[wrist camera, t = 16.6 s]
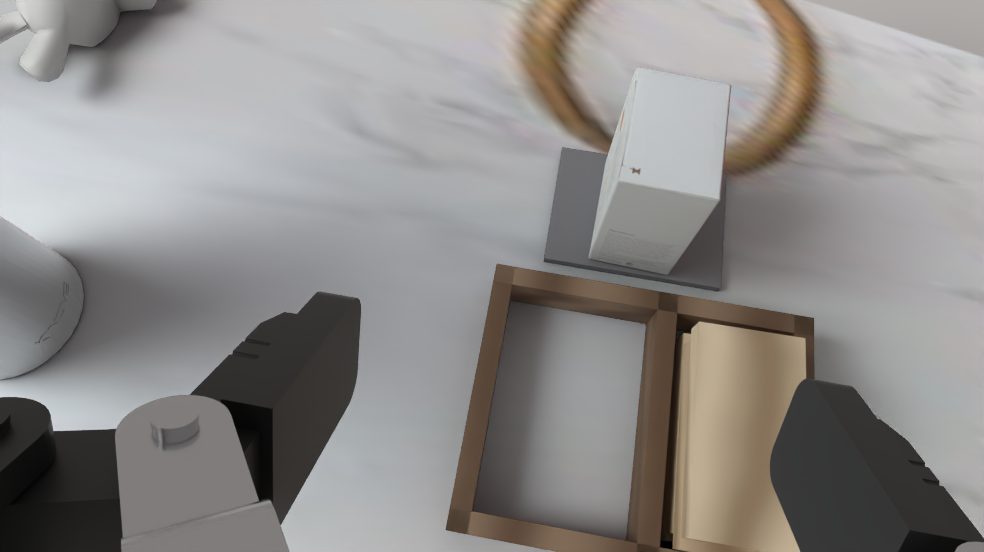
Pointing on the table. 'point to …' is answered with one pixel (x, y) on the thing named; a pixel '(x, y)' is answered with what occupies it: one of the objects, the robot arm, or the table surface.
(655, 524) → the walnut rack
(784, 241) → the table surface
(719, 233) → the charcoal mat
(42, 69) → the bunny figurine
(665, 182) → the small box
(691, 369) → the offcut stack
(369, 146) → the table surface
